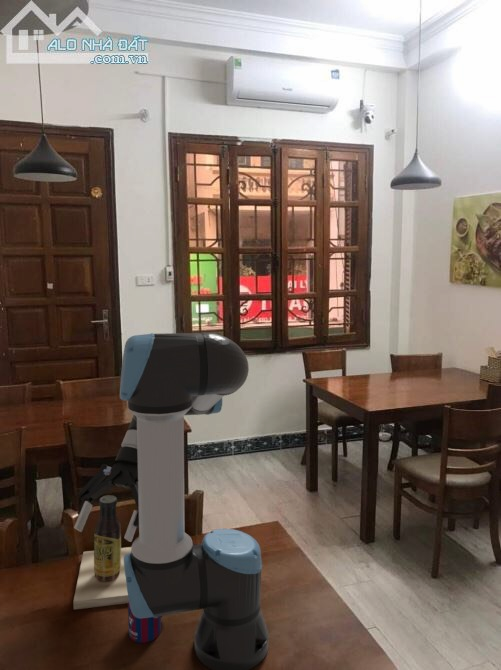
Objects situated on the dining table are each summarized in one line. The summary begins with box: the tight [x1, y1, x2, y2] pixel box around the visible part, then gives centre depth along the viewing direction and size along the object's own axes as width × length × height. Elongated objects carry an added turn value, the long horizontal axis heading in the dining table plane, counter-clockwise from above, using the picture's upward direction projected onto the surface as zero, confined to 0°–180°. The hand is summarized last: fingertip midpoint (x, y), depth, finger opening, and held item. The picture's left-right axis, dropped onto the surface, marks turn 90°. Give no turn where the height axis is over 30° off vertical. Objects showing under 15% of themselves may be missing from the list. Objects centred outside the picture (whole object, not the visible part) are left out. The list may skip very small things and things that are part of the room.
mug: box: [127, 602, 163, 644], centre depth 109 cm, size 7×10×7 cm
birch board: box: [73, 546, 132, 611], centre depth 126 cm, size 20×14×2 cm
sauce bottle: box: [93, 494, 122, 581], centre depth 123 cm, size 7×6×20 cm
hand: (102, 535), depth 121 cm, fingers open, 13 cm apart
